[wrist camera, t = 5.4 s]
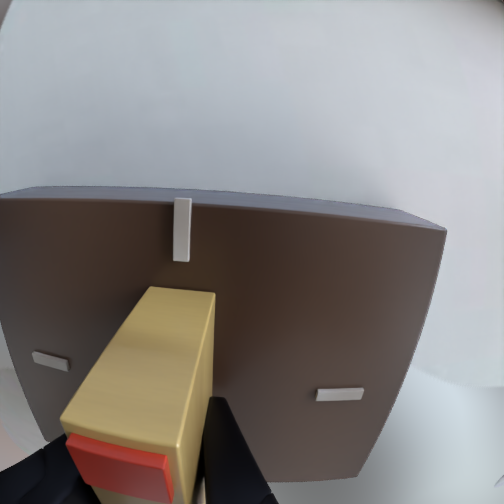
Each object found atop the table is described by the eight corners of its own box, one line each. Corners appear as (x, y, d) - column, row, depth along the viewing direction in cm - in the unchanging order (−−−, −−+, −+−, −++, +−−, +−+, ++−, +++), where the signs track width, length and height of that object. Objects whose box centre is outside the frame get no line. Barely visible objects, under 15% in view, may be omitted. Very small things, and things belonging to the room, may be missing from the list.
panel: (70, 401, 12) (44, 444, 9) (34, 183, 9) (-23, 196, 6) (342, 430, 13) (357, 481, 10) (401, 206, 10) (452, 226, 7)
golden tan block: (211, 452, 9) (198, 575, 4) (164, 446, 9) (136, 564, 4) (215, 291, 7) (176, 461, 3) (149, 285, 7) (49, 429, 3)
